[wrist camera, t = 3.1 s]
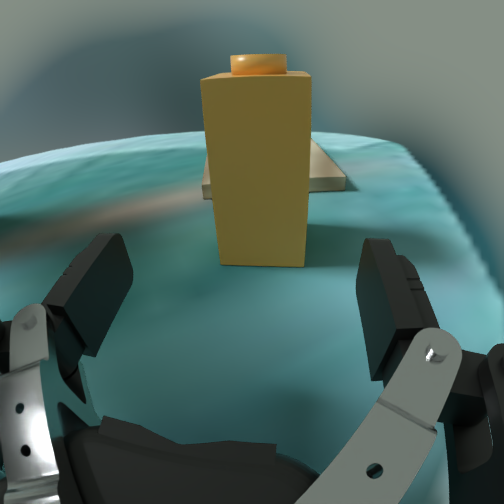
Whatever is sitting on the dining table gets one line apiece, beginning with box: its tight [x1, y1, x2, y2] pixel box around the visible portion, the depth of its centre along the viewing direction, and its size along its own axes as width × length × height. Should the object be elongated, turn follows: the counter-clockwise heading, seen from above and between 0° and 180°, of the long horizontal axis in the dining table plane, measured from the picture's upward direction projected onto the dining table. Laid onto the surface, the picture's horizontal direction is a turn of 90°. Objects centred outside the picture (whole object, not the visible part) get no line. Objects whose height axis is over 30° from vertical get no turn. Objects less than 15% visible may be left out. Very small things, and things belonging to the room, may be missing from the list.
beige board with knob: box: [202, 138, 346, 199], centre depth 34 cm, size 14×17×6 cm
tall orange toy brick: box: [200, 54, 311, 267], centre depth 19 cm, size 6×6×13 cm
